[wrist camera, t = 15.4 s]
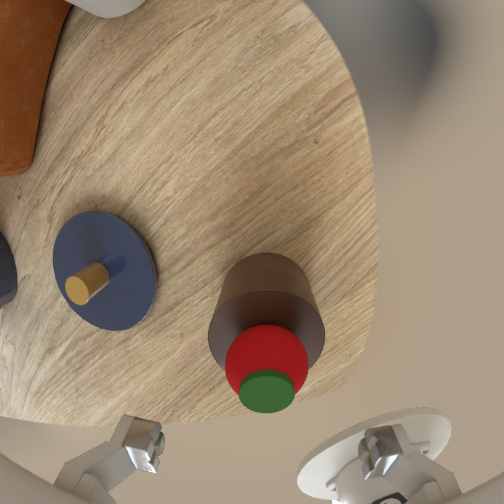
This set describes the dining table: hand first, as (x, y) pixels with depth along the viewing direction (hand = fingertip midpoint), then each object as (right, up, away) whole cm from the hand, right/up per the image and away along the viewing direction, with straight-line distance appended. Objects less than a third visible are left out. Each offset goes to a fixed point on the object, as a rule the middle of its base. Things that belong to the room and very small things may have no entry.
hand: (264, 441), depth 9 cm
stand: (+1, +4, +14) cm, 15 cm away
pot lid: (-14, +5, +13) cm, 20 cm away
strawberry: (0, +2, +7) cm, 8 cm away
